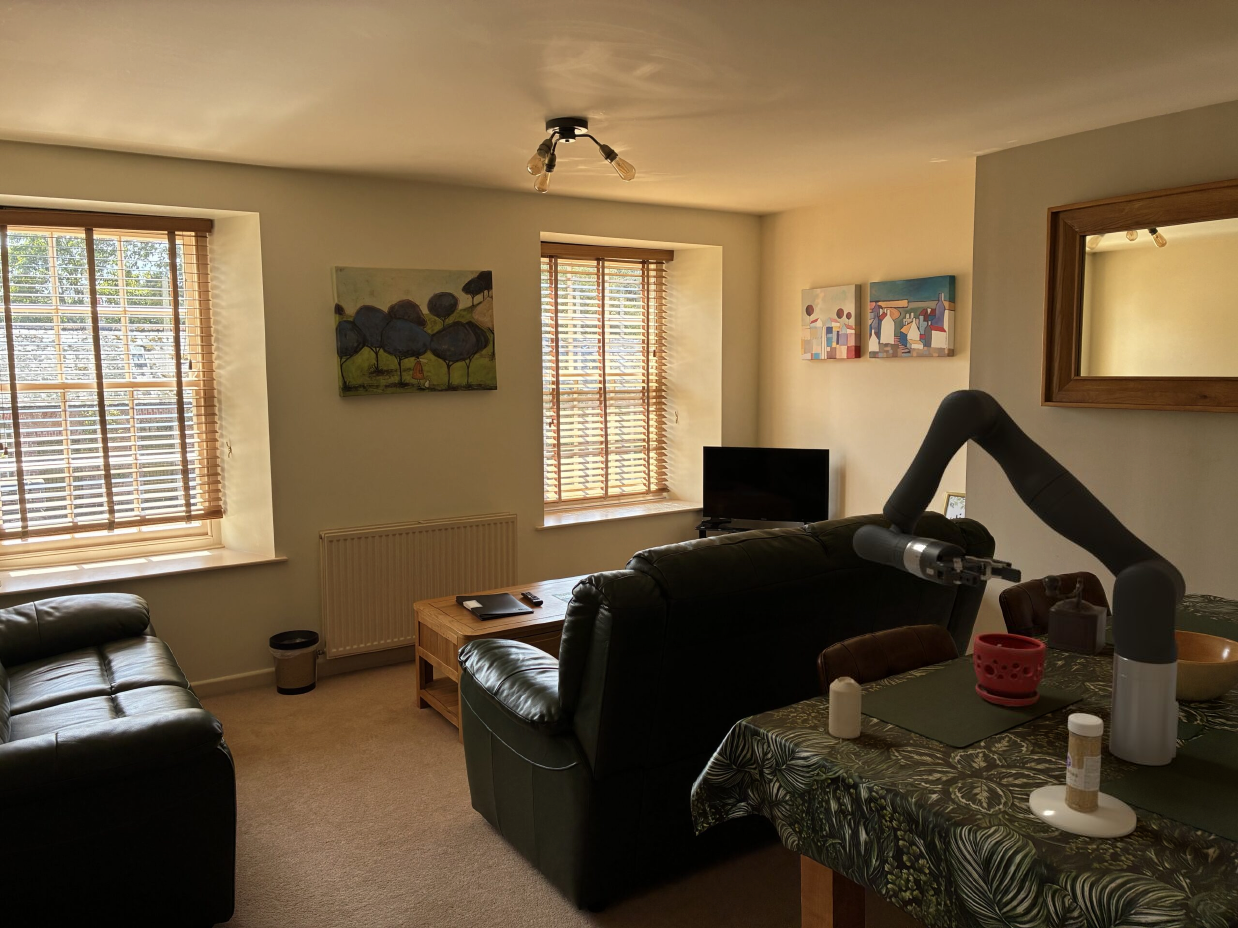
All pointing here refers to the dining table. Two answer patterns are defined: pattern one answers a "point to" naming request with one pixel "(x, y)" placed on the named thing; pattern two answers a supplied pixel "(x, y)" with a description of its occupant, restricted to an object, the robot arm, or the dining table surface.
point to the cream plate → (1083, 814)
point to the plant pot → (1008, 668)
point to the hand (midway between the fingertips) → (999, 579)
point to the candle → (845, 708)
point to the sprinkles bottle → (1083, 762)
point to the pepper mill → (1074, 621)
